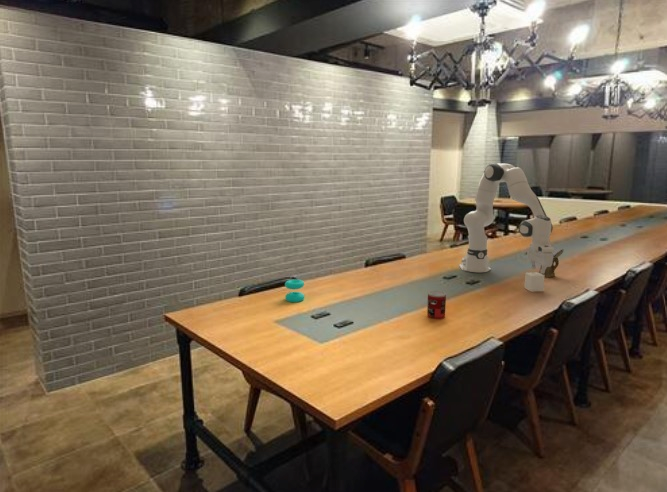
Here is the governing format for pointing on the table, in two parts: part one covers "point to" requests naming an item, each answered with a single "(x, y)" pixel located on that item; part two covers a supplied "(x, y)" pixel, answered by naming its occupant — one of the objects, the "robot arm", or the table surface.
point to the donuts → (294, 295)
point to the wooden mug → (550, 270)
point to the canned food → (436, 304)
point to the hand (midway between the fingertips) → (537, 270)
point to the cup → (534, 281)
